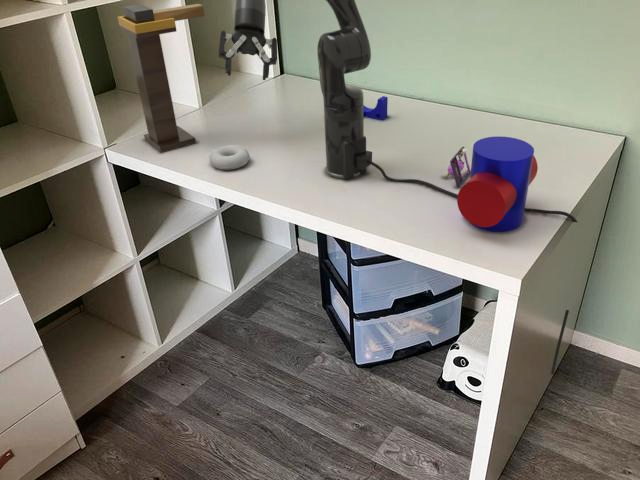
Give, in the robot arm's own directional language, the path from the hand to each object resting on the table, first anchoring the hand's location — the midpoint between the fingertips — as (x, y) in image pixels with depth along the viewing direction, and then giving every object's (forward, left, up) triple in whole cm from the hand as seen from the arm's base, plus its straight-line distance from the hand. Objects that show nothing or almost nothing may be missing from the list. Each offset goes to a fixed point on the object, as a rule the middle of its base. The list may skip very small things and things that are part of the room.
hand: (246, 76), depth 154 cm
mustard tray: (+19, +15, +11) cm, 27 cm away
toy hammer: (+19, +10, +11) cm, 24 cm away
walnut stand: (+19, +15, -19) cm, 31 cm away
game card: (-46, -29, -19) cm, 57 cm away
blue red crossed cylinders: (-64, -22, -19) cm, 71 cm away
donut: (-4, +9, -19) cm, 22 cm away
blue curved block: (0, -38, -19) cm, 42 cm away
